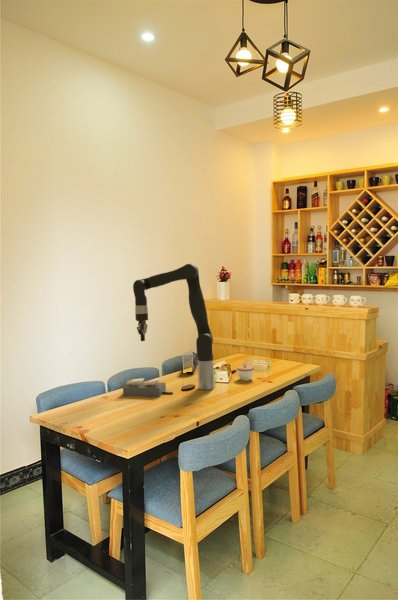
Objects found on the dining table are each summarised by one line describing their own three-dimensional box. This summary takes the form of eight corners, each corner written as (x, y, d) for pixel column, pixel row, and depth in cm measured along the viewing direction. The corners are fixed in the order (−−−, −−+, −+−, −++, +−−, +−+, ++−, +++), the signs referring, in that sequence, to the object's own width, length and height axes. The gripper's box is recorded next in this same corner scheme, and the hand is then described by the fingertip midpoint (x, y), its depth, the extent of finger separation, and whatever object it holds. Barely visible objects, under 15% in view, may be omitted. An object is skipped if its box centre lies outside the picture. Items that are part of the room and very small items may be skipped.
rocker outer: (144, 381, 267) (143, 377, 267) (141, 384, 261) (140, 380, 261) (130, 383, 269) (129, 379, 269) (126, 386, 263) (126, 382, 263)
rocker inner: (162, 381, 264) (161, 377, 264) (159, 383, 259) (158, 379, 259) (148, 384, 266) (147, 380, 266) (145, 387, 261) (143, 383, 261)
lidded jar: (256, 378, 289) (256, 363, 288) (249, 382, 280) (249, 367, 279) (241, 376, 295) (241, 362, 294) (234, 380, 286) (233, 365, 285)
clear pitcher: (199, 365, 332) (199, 351, 331) (195, 375, 304) (195, 359, 304) (187, 365, 333) (186, 351, 332) (181, 375, 305) (181, 360, 305)
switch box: (175, 391, 267) (175, 382, 266) (170, 397, 255) (169, 388, 254) (130, 390, 273) (130, 381, 272) (123, 395, 261) (122, 387, 261)
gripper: (143, 313, 266) (145, 342, 267) (150, 311, 279) (152, 339, 280) (131, 313, 268) (133, 342, 269) (139, 311, 280) (140, 339, 282)
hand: (142, 340), depth 275 cm, fingers closed
